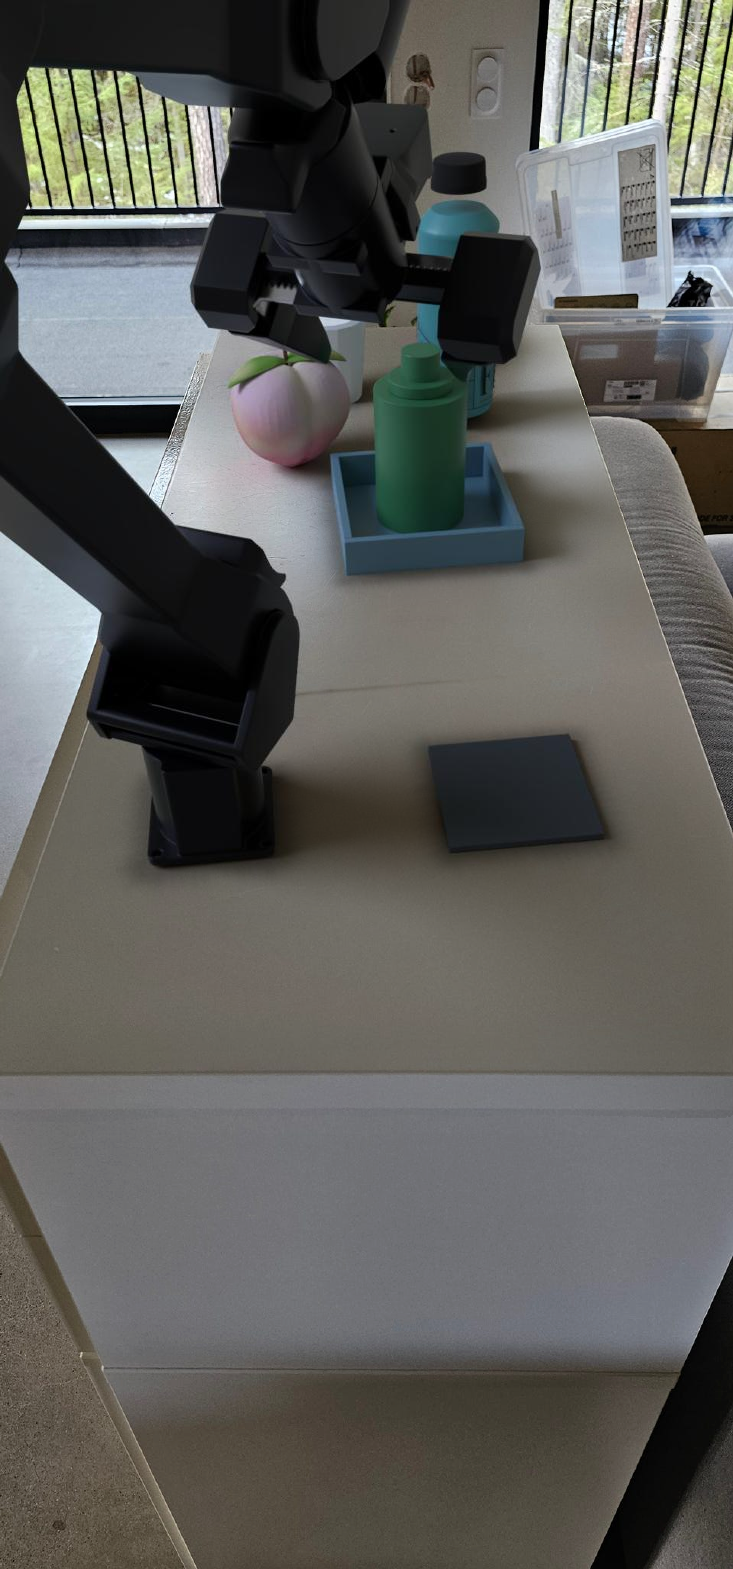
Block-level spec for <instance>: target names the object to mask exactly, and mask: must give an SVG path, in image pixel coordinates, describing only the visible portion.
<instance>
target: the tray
mask: <svg viewBox="0 0 733 1569" xmlns="http://www.w3.org/2000/svg"><path fill="white" fill-rule="evenodd" d="M329 456H330V470H331V471H330V474H331V487H332V494H333V500H334V507H335V514H336V521H337V526H338V533H339V539H340V545H341V553H342V559H343V565H344V566H343V567H344V571H345V572H344V573H345V576H358V575H359V576H360V575H371V574H383V573H397V572H410V571H424V570H435V569H448V568H460V567H463V568H464V567H473V566H486V565H487V566H489V565H498V564H499V565H501V564H512V563H513V564H514V563H523V562H524V561H523V559H524V545H525V536H526V534H525V533H526V528H525V526H524V523H523V521H522V518H521V516H520V513H519V511H518V508H517V506H516V502H515V501H514V498H513V495H512V493H511V491H510V488H509V485H508V483H507V481H506V478H505V476H504V473H503V470H502V468H501V466H500V463H499V460H498V458H497V456H496V453H495V451H494V449H493V446H492V443H491V442H490V441H486V442H485V441H484V442H473V443H471V442H470V443H466V462H465V492H464V516H463V518H462V520H461V522H460V523H459V524H458V525H456V526H455V527H453V528H452V529H450V530H447V531H434V532H421V533H408V534H401V533H397V532H394V531H392V530H390V529H388V528H386V527H384V526H383V525H382V524H381V523H380V522H379V520H378V518H377V510H376V472H375V449H374V450H363V451H362V450H360V451H347V452H346V451H345V452H332V453H330V454H329Z"/></svg>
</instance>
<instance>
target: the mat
mask: <svg viewBox="0 0 733 1569" xmlns="http://www.w3.org/2000/svg"><path fill="white" fill-rule="evenodd" d="M427 752H428V757H429V761H430V765H431V770H432V776H433V780H434V785H435V790H436V795H437V800H438V804H439V810H440V813H441V814H440V815H441V818H442V824H443V828H444V833H445V837H446V841H447V847H448V852H449V853H460V852H461V853H462V852H472V851H482V850H483V851H484V850H493V849H494V850H495V849H503V848H504V849H505V848H514V847H516V848H517V847H527V846H536V845H537V846H539V845H548V844H549V845H550V844H560V843H571V842H582V841H583V842H584V841H592V840H593V841H594V840H604V839H605V836H606V832H605V830H604V827H603V824H602V822H601V819H600V816H599V813H598V811H597V807H596V805H595V802H594V799H593V796H592V794H591V790H590V788H589V785H588V782H587V780H586V777H585V775H584V772H583V769H582V766H581V764H580V761H579V758H578V755H577V753H576V749H575V748H574V743H573V741H572V739H571V735H570V734H569V733H561V734H551V735H537V736H528V737H527V736H526V737H516V738H503V739H493V740H491V739H490V740H480V741H469V742H456V743H446V744H444V743H443V744H434V745H433V744H432V745H428V746H427Z"/></svg>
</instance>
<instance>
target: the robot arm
mask: <svg viewBox="0 0 733 1569" xmlns="http://www.w3.org/2000/svg"><path fill="white" fill-rule="evenodd" d="M412 2H413V0H0V533H1V534H2V535H3V536H5V537H6V538H8V539H9V540H10V541H12V543H14V544H15V545H16V546H17V547H19V548H20V549H22V551H24V552H25V553H26V554H28V555H29V556H30V557H32V558H33V559H34V560H35V561H36V562H38V563H39V564H40V565H41V566H42V567H44V569H46V570H48V571H49V572H50V573H51V574H53V575H54V576H55V577H57V579H60V581H62V582H63V583H64V584H65V585H67V586H68V587H69V588H71V589H72V590H73V591H74V592H75V593H76V594H78V595H79V596H81V597H82V598H83V600H86V601H87V602H88V603H89V604H90V605H92V606H93V607H94V608H96V609H97V611H99V613H100V618H99V623H98V629H97V633H96V635H97V639H98V640H99V643H101V646H102V650H101V654H100V657H99V662H98V665H97V669H96V673H95V677H94V680H93V681H94V682H93V685H92V687H91V688H92V689H91V693H90V696H89V697H90V698H89V700H88V704H87V709H86V712H85V714H86V716H85V717H86V719H87V721H88V722H89V724H90V726H92V728H93V729H94V731H95V732H96V734H97V735H98V736H99V737H100V738H102V739H107V740H112V739H113V740H118V741H122V742H127V743H129V744H134V745H137V746H138V745H139V746H140V747H141V751H142V756H143V760H144V765H145V770H146V773H147V778H148V783H149V788H150V792H151V798H150V799H151V800H150V815H149V828H148V843H147V859H148V862H149V864H150V865H152V866H154V867H162V866H171V865H172V866H173V865H174V866H175V865H184V864H195V863H196V864H197V863H207V862H208V863H209V862H217V861H227V860H228V861H230V860H240V859H251V858H261V857H270V856H272V855H274V854H275V853H276V851H277V831H276V813H275V811H276V810H275V792H274V791H275V790H274V773H273V769H272V768H271V767H270V766H267V765H263V764H264V762H265V761H266V759H267V758H268V757H269V755H270V754H271V752H272V751H273V749H274V748H275V746H276V745H277V744H278V742H279V741H280V739H281V738H282V737H283V735H284V734H285V732H286V731H287V729H288V728H289V727H290V725H291V724H292V722H293V720H294V717H295V706H296V692H297V680H298V670H299V669H298V666H299V656H300V645H301V644H300V643H301V642H300V641H301V640H300V639H301V631H300V624H299V621H298V619H297V616H295V613H294V608H293V604H292V602H291V600H290V598H289V596H288V594H287V593H286V590H284V588H282V586H283V585H284V583H285V582H286V580H287V574H286V573H284V572H280V571H279V572H278V571H277V570H276V569H274V568H273V567H272V564H271V563H270V561H269V558H268V557H267V554H266V552H265V550H264V549H263V548H262V547H261V546H260V545H259V544H258V543H256V541H254V540H253V539H252V538H249V537H243V536H239V535H234V534H228V533H223V532H218V531H217V532H216V531H211V530H206V529H202V528H201V529H200V528H195V527H190V526H185V525H179V524H175V523H174V522H173V521H172V519H171V518H170V517H169V516H168V515H167V514H166V513H165V512H164V511H163V509H162V508H160V506H158V504H157V503H156V501H155V500H153V498H151V496H150V495H149V494H148V493H147V492H146V491H145V490H144V489H143V488H142V486H141V485H140V484H139V483H138V482H137V481H136V479H134V478H133V477H132V476H131V474H130V473H129V472H128V471H127V470H126V469H125V468H124V467H123V465H122V464H120V462H119V461H118V460H117V459H116V458H115V456H114V455H112V453H111V452H109V450H108V449H107V448H106V447H105V446H104V444H103V443H102V442H101V441H100V440H99V439H98V438H97V437H96V436H95V435H94V434H93V432H92V431H90V429H89V428H88V427H87V426H86V425H85V424H84V423H83V421H82V420H81V419H80V418H79V417H78V416H77V415H76V414H75V413H74V412H73V410H72V409H71V408H70V407H69V406H68V405H67V403H65V402H64V400H63V399H62V398H61V397H60V396H59V395H58V394H57V392H56V391H55V390H53V388H52V387H51V386H50V385H49V384H48V383H47V382H46V381H45V379H44V378H43V377H42V376H41V375H40V374H39V373H38V371H36V369H34V367H33V366H32V365H31V364H30V362H28V360H26V358H25V356H24V355H23V353H21V351H20V349H19V348H20V347H19V346H20V344H19V342H20V341H19V340H20V339H19V338H20V337H19V336H20V334H19V332H20V328H19V327H20V325H19V324H20V321H19V318H20V316H19V313H20V311H19V309H20V308H19V307H20V306H19V303H20V301H19V300H20V298H19V295H20V294H19V292H20V291H19V290H20V289H19V286H18V283H17V281H16V279H15V277H14V274H13V272H12V271H11V269H10V267H9V266H8V264H7V263H6V258H7V257H8V254H9V251H10V249H11V247H12V244H13V242H14V239H15V237H16V234H17V233H18V230H19V227H20V225H21V222H22V220H23V218H24V215H25V213H26V210H27V207H28V205H29V203H30V196H31V190H32V189H31V183H30V176H29V171H28V170H29V169H28V164H27V157H26V151H25V144H24V138H23V132H22V131H23V130H22V125H21V118H20V112H19V105H18V96H19V94H20V91H21V89H22V87H23V84H24V82H25V79H26V77H27V74H28V72H29V69H30V68H32V69H33V68H34V69H54V70H55V69H56V70H57V69H59V70H77V71H101V72H122V73H123V72H125V73H127V74H130V75H133V76H135V77H137V78H138V81H139V83H140V84H141V86H142V87H143V89H145V91H148V92H150V93H153V94H155V95H159V96H161V97H163V98H165V99H169V100H171V101H173V102H176V103H178V104H180V105H184V106H193V107H195V106H196V107H211V108H229V109H230V108H231V109H233V110H234V111H233V112H232V115H231V118H230V122H229V126H228V129H227V136H226V138H227V144H228V155H227V159H226V162H225V165H224V168H223V171H222V175H221V177H220V183H219V190H220V193H219V201H220V205H221V207H222V208H224V210H220V211H217V212H215V213H214V215H213V217H212V218H211V220H210V221H209V224H208V228H207V230H206V233H205V236H204V239H203V243H202V246H201V249H200V251H199V252H200V253H199V255H198V258H197V263H196V265H195V269H194V271H193V274H192V278H191V280H190V281H191V282H190V284H189V292H190V302H191V304H192V306H193V308H194V310H195V311H196V313H197V314H198V315H199V317H200V318H201V320H202V321H203V322H204V324H205V325H206V327H207V328H208V329H214V330H222V331H227V332H228V333H229V334H230V335H232V336H235V337H241V338H245V339H248V340H252V341H254V342H257V343H261V344H264V345H267V346H270V347H273V348H277V349H278V350H280V349H282V350H285V351H288V352H291V353H293V354H296V355H299V356H302V357H305V358H307V359H310V360H313V361H316V362H318V363H321V364H327V363H328V362H329V358H330V355H331V351H332V348H331V345H330V342H329V339H328V336H327V333H326V331H325V329H324V326H323V324H322V322H321V320H320V318H319V317H326V318H335V319H344V320H352V321H361V322H366V323H371V324H379V325H382V324H383V321H384V320H385V319H384V318H385V315H386V311H387V308H388V306H389V305H391V304H392V303H393V302H394V301H395V302H403V303H411V304H418V303H421V304H430V305H439V306H440V307H439V311H438V327H437V340H438V342H439V345H440V348H441V350H443V351H442V355H441V358H440V359H441V361H442V362H443V363H444V365H445V366H446V367H447V368H448V369H449V370H450V371H451V373H452V374H453V375H454V376H455V377H456V378H457V379H458V380H460V381H461V382H468V380H469V377H470V373H471V370H472V369H473V368H474V367H475V366H480V367H487V366H490V365H491V364H493V363H495V365H505V364H507V363H509V362H510V361H511V360H513V359H514V358H516V357H517V356H518V353H519V349H520V346H521V343H522V338H523V335H524V332H525V328H526V324H527V321H528V317H529V313H530V309H531V306H532V303H533V299H534V295H535V292H536V288H537V285H538V281H539V278H540V274H541V271H542V265H541V260H540V253H539V249H538V247H537V246H536V244H535V242H534V241H533V239H532V237H531V236H530V235H526V234H513V233H503V232H501V233H500V232H498V233H492V232H480V231H469V230H468V231H466V232H465V233H463V234H461V235H460V238H459V242H458V245H457V249H456V252H455V256H454V257H447V256H437V255H427V254H418V253H416V252H415V253H414V252H406V249H405V248H406V244H407V242H416V240H417V238H418V230H419V226H420V223H421V219H420V218H421V216H420V213H419V210H418V207H417V203H416V202H417V200H418V199H419V196H420V194H421V193H422V191H423V189H424V187H425V185H426V183H427V181H428V180H431V177H432V174H433V171H434V170H433V159H434V158H433V151H432V150H433V149H432V140H431V129H430V120H429V119H430V118H429V111H428V109H427V108H426V107H424V106H422V105H419V104H410V103H409V104H407V103H387V102H370V101H372V100H375V101H380V100H382V98H383V97H384V94H385V92H386V88H387V85H388V82H389V78H390V75H391V72H392V68H393V65H394V62H395V60H396V55H397V52H398V50H399V45H400V42H401V39H402V36H403V32H404V29H405V26H406V22H407V19H408V15H409V12H410V9H411V6H412Z"/></svg>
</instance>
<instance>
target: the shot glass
mask: <svg viewBox="0 0 733 1569" xmlns="http://www.w3.org/2000/svg"><path fill="white" fill-rule="evenodd" d="M319 318H320V320H321V322H322V324H323V326H324V329H325V331H326V333H327V336H328V339H329V342H330V345H331V348H332V349H333V350H335V351H336V352H338V353H339V354H341V355H342V356H343V357H344V358H345V359H346V360H347V361H335V360H329V361H331V362H332V363H333V364H334V365H335V366H336V367H337V368H338V370H339V371H340V373H341V374H342V376H343V378H344V379H345V382H346V384H347V387H348V390H349V394H350V405H353V404H354V403H356V402H357V401H359V400H360V398H361V397H362V395H363V383H364V382H363V381H364V364H365V363H364V362H365V348H366V347H365V346H366V345H365V344H366V328H367V322H361V321H352V320H344V319H335V318H326V317H319Z"/></svg>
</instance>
